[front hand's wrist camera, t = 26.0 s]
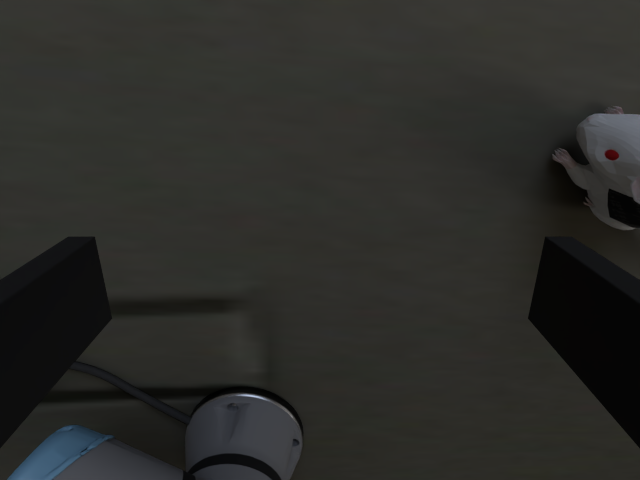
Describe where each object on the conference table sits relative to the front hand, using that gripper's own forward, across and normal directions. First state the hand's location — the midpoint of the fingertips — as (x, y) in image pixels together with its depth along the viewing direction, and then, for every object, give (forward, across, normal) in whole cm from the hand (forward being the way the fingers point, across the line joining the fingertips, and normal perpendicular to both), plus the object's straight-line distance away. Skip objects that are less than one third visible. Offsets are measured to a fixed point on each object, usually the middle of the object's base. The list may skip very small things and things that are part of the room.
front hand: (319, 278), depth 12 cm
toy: (+32, -32, +6) cm, 46 cm away
